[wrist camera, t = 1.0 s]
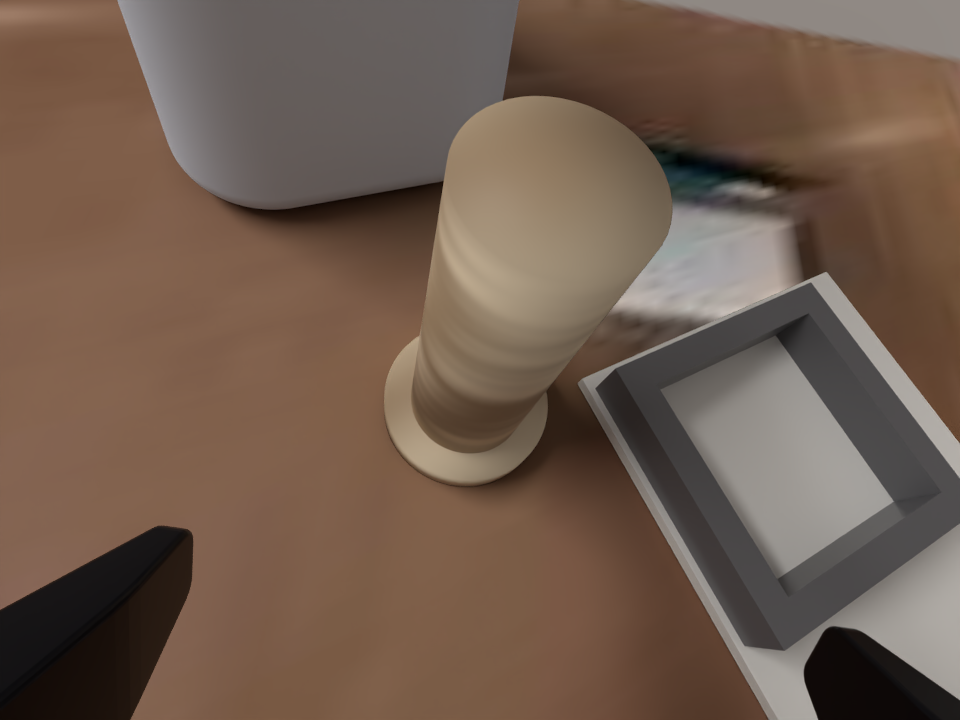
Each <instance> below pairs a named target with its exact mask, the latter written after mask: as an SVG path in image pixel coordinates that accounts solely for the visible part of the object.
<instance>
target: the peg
mask: <svg viewBox="0 0 960 720" xmlns="http://www.w3.org/2000/svg"><path fill="white" fill-rule="evenodd" d="M671 219H672V197H671V192H670V187H669V184H668V181H667V178H666V176H665V174H664V172H663V169H662V167H661V165H660V164H659V162H658V161H657V159H656V157H655V156H654V154H653V153H652V152H651V151H650V149H649V148H648V147H647V146H646V144H645V143H644V142H643V141H642V140H641V139H640V138H639V137H638V136H637V135H636V134H634V133H633V132H632V131H631V130H630V129H628V128H627V127H626V126H624V125H623V124H622V123H620V122H619V121H617V120H616V119H614V118H612V117H611V116H609V115H607V114H605V113H603V112H602V111H599V110H597V109H595V108H592V107H590V106H588V105H585V104H582V103H579V102H576V101H571V100H567V99H563V98H556V97H549V96H525V97H517V98H512V99H507V100H504V101H501V102H497V103H495V104H493V105H490V106H488V107H486V108H484V109H483V110H481V111H479V112H478V113H476V114H475V115H474V116H472V117H471V118H470V119H469V120H468V121H467V122H466V123H465V124H464V125H463V126H462V127H461V129H460V130H459V131H458V133H457V135H456V136H455V138H454V140H453V142H452V144H451V147H450V150H449V153H448V159H447V164H446V170H445V177H444V183H443V190H442V196H441V203H440V209H439V215H438V222H437V228H436V235H435V241H434V248H433V254H432V261H431V267H430V273H429V280H428V286H427V293H426V299H425V306H424V312H423V318H422V325H421V331H420V336H419V337H417V338H415V339H414V340H413V341H412V342H410V343H409V344H408V345H407V346H406V347H405V348H404V349H403V350H402V351H401V352H400V354H399V355H398V357H397V358H396V359H395V361H394V363H393V365H392V367H391V369H390V371H389V374H388V377H387V381H386V385H385V395H384V416H385V423H386V427H387V431H388V433H389V436H390V439H391V441H392V443H393V444H394V446H395V448H396V450H397V451H398V452H399V454H400V455H401V457H402V458H403V459H404V460H405V461H406V462H407V463H408V464H409V465H410V466H411V467H413V468H414V469H415V470H416V471H418V472H419V473H421V474H423V475H424V476H426V477H428V478H430V479H432V480H434V481H437V482H440V483H443V484H447V485H453V486H464V487H470V486H479V485H483V484H487V483H490V482H493V481H495V480H498V479H500V478H502V477H504V476H505V475H507V474H509V473H510V472H511V471H513V470H514V469H515V468H516V467H517V466H518V465H519V464H520V463H522V462H523V461H524V460H525V459H526V457H527V456H528V455H529V454H530V453H531V452H532V451H533V449H534V448H535V447H536V445H537V443H538V442H539V440H540V438H541V436H542V433H543V431H544V428H545V424H546V420H547V412H548V400H547V393H546V391H547V389H548V388H549V387H550V386H551V384H552V383H553V382H554V381H555V379H556V378H557V377H558V376H559V374H560V373H561V372H562V371H563V369H564V368H565V367H566V366H567V364H568V363H569V362H570V361H571V359H572V358H573V357H574V355H575V354H576V353H577V352H578V350H579V349H580V348H581V347H582V345H583V344H584V343H585V342H586V340H587V339H588V338H589V337H590V335H591V334H592V333H593V332H594V330H595V329H596V328H597V327H598V325H599V324H600V323H601V322H602V320H603V319H604V318H605V317H606V315H607V314H608V313H609V312H610V310H611V309H612V308H613V306H614V305H615V304H616V303H617V301H618V300H619V299H620V298H621V296H622V295H623V294H624V293H625V291H626V290H627V289H628V288H629V286H630V285H631V284H632V283H633V281H634V280H635V279H636V278H637V276H638V275H639V274H640V273H641V271H642V270H643V269H644V268H645V266H646V265H647V264H648V263H649V261H650V260H651V259H652V257H653V256H654V255H655V254H656V252H657V251H658V250H659V248H660V247H661V246H662V244H663V242H664V240H665V238H666V236H667V234H668V231H669V228H670V225H671Z"/></svg>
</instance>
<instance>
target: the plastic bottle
mask: <svg viewBox="0 0 960 720" xmlns="http://www.w3.org/2000/svg"><path fill="white" fill-rule="evenodd" d="M118 3H119V6H120V9H121V12H122V15H123V17H124V20H125V23H126V26H127V29H128V31H129V34H130V37H131V40H132V43H133V45H134V48H135V51H136V54H137V57H138V60H139V62H140V65H141V68H142V71H143V74H144V76H145V79H146V82H147V85H148V88H149V91H150V93H151V96H152V99H153V102H154V105H155V107H156V110H157V113H158V116H159V119H160V122H161V124H162V127H163V130H164V133H165V136H166V138H167V141H168V144H169V147H170V149H171V151H172V153H173V155H174V157H175V158H176V160H177V162H178V163H179V165H180V166H181V167H182V168H183V170H184V171H185V172H186V173H187V174H188V175H189V176H190V177H191V178H192V179H193V180H194V181H195V182H196V183H197V184H199V185H200V186H201V187H203V188H204V189H206V190H207V191H209V192H210V193H212V194H214V195H215V196H217V197H219V198H221V199H224V200H226V201H228V202H231V203H234V204H237V205H241V206H245V207H250V208H257V209H268V210H278V209H289V208H296V207H301V206H307V205H313V204H318V203H324V202H329V201H335V200H341V199H346V198H352V197H357V196H363V195H369V194H374V193H380V192H386V191H391V190H397V189H402V188H408V187H414V186H419V185H425V184H431V183H436V182H441V181H444V177H445V170H446V164H447V159H448V153H449V150H450V147H451V144H452V142H453V140H454V138H455V136H456V135H457V133H458V131H459V130H460V129H461V127H462V126H463V125H464V124H465V123H466V122H467V121H468V120H469V119H470V118H471V117H472V116H474V115H475V114H476V113H478V112H479V111H481V110H483V109H484V108H486V107H488V106H490V105H493V104H495V103H497V102H501V101H503V95H504V89H505V83H506V77H507V71H508V64H509V58H510V52H511V46H512V40H513V34H514V28H515V22H516V16H517V10H518V3H519V0H118Z"/></svg>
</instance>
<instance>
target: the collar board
mask: <svg viewBox="0 0 960 720" xmlns="http://www.w3.org/2000/svg"><path fill="white" fill-rule="evenodd" d="M578 386H579V387H580V389H581V391H582V393H583V394H584V396H585V398H586V400H587V401H588V403H589V405H590V407H591V409H592V410H593V412H594V414H595V416H596V417H597V419H598V421H599V423H600V424H601V426H602V428H603V430H604V431H605V433H606V435H607V437H608V438H609V440H610V442H611V444H612V445H613V447H614V449H615V451H616V452H617V454H618V456H619V458H620V459H621V461H622V463H623V465H624V466H625V468H626V470H627V472H628V473H629V475H630V477H631V479H632V480H633V482H634V484H635V486H636V487H637V489H638V491H639V493H640V494H641V496H642V498H643V500H644V501H645V503H646V505H647V507H648V508H649V510H650V512H651V514H652V515H653V517H654V519H655V521H656V522H657V524H658V526H659V528H660V529H661V531H662V533H663V535H664V537H665V538H666V540H667V542H668V544H669V545H670V547H671V549H672V551H673V552H674V554H675V556H676V558H677V559H678V561H679V563H680V565H681V566H682V568H683V570H684V572H685V573H686V575H687V577H688V579H689V580H690V582H691V584H692V586H693V587H694V589H695V591H696V593H697V594H698V596H699V598H700V600H701V601H702V603H703V605H704V607H705V608H706V610H707V612H708V614H709V615H710V617H711V619H712V621H713V622H714V624H715V626H716V628H717V629H718V631H719V633H720V635H721V636H722V638H723V640H724V642H725V643H726V645H727V647H728V649H729V650H730V652H731V654H732V656H733V658H734V659H735V661H736V663H737V665H738V666H739V668H740V670H741V672H742V673H743V675H744V677H745V679H746V680H747V682H748V684H749V686H750V687H751V689H752V691H753V693H754V694H755V696H756V698H757V700H758V701H759V703H760V705H761V707H762V708H763V710H764V712H765V714H766V715H767V717H768V719H769V720H818V718H817V715H816V713H815V710H814V707H813V704H812V702H811V699H810V696H809V694H808V691H807V688H806V685H805V682H804V666H805V663H806V661H807V660H808V658H809V656H810V654H811V653H812V651H813V649H814V647H815V645H816V644H817V642H818V640H819V638H820V637H821V635H822V633H823V632H824V630H825V629H827V628H828V627H830V626H839V627H846V628H853V629H857V630H859V631H862V632H863V633H865V634H867V635H868V636H869V637H871V638H872V639H874V640H875V641H877V642H878V643H879V644H881V645H882V646H884V647H885V648H887V649H888V650H889V651H891V652H892V653H894V654H895V655H896V656H898V657H899V658H901V659H902V660H904V661H905V662H906V663H908V664H909V665H911V666H912V667H914V668H915V669H916V670H918V671H919V672H921V673H922V674H924V675H925V676H926V677H928V678H929V679H931V680H932V681H933V682H935V683H936V684H938V685H939V686H941V687H942V688H943V689H945V690H946V691H948V692H949V693H951V694H952V695H953V696H955V697H956V698H958V699H959V700H960V443H959V442H958V441H957V440H956V438H955V437H954V436H953V434H952V433H951V432H950V431H949V429H948V428H947V427H946V425H945V424H944V423H943V422H942V420H941V419H940V418H939V416H938V415H937V414H936V412H935V411H934V410H933V409H932V407H931V406H930V405H929V403H928V402H927V401H926V400H925V398H924V397H923V396H922V394H921V393H920V392H919V391H918V389H917V388H916V387H915V385H914V384H913V383H912V382H911V380H910V379H909V378H908V376H907V375H906V374H905V372H904V371H903V370H902V369H901V367H900V366H899V365H898V363H897V362H896V361H895V360H894V358H893V357H892V356H891V354H890V353H889V352H888V351H887V349H886V348H885V347H884V345H883V344H882V343H881V341H880V340H879V339H878V338H877V336H876V335H875V334H874V332H873V331H872V330H871V329H870V327H869V326H868V325H867V323H866V322H865V321H864V320H863V318H862V317H861V316H860V314H859V313H858V312H857V310H856V309H855V308H854V307H853V305H852V304H851V303H850V301H849V300H848V299H847V298H846V296H845V295H844V294H843V292H842V291H841V290H840V289H839V287H838V286H837V285H836V283H835V282H834V281H833V280H832V278H831V277H830V276H829V274H828V273H827V272H825V273H822V274H820V275H818V276H816V277H813V278H811V279H809V280H806V281H804V282H802V283H800V284H797V285H795V286H793V287H790V288H788V289H786V290H784V291H781V292H779V293H777V294H774V295H772V296H770V297H768V298H765V299H763V300H761V301H758V302H756V303H754V304H752V305H749V306H747V307H745V308H742V309H740V310H738V311H736V312H733V313H731V314H729V315H726V316H724V317H722V318H720V319H717V320H715V321H713V322H710V323H708V324H706V325H704V326H701V327H699V328H697V329H694V330H692V331H690V332H688V333H685V334H683V335H681V336H678V337H676V338H674V339H672V340H669V341H667V342H665V343H662V344H660V345H658V346H656V347H653V348H651V349H649V350H646V351H644V352H642V353H640V354H637V355H635V356H633V357H630V358H628V359H626V360H624V361H621V362H619V363H617V364H614V365H612V366H610V367H608V368H605V369H603V370H601V371H598V372H596V373H594V374H592V375H589V376H587V377H585V378H582V379H581V380H580V381H579V383H578Z"/></svg>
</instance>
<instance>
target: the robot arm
mask: <svg viewBox="0 0 960 720" xmlns="http://www.w3.org/2000/svg"><path fill="white" fill-rule="evenodd" d="M192 563H193V535H192V533H191V532H190V531H189V530H188V529H183V528H176V527H170V526H157V527H154V528H152V529H150V530H148V531H146V532H144V533H143V534H141V535H139V536H137V537H135V538H133V539H131V540H129V541H128V542H126V543H124V544H122V545H120V546H118V547H116V548H115V549H113V550H111V551H109V552H107V553H105V554H103V555H102V556H100V557H98V558H96V559H94V560H92V561H90V562H89V563H87V564H85V565H83V566H81V567H79V568H77V569H75V570H74V571H72V572H70V573H68V574H66V575H64V576H62V577H61V578H59V579H57V580H55V581H53V582H51V583H49V584H48V585H46V586H44V587H42V588H40V589H38V590H36V591H35V592H33V593H31V594H29V595H27V596H25V597H23V598H22V599H20V600H18V601H16V602H14V603H12V604H10V605H8V606H7V607H5V608H3V609H1V610H0V720H130V719H131V717H132V715H133V713H134V711H135V709H136V707H137V705H138V703H139V701H140V699H141V696H142V694H143V692H144V690H145V688H146V686H147V683H148V681H149V679H150V677H151V675H152V673H153V670H154V668H155V666H156V664H157V662H158V659H159V657H160V655H161V653H162V651H163V649H164V646H165V644H166V642H167V640H168V638H169V636H170V633H171V631H172V629H173V627H174V625H175V623H176V620H177V618H178V616H179V614H180V612H181V610H182V607H183V605H184V603H185V601H186V599H187V596H188V593H189V590H190V587H191V582H192ZM804 682H805V685H806V688H807V691H808V694H809V696H810V699H811V702H812V704H813V707H814V710H815V713H816V715H817V718H818V720H960V700H959V699H958V698H956V697H955V696H953V695H952V694H951V693H949V692H948V691H946V690H945V689H943V688H942V687H941V686H939V685H938V684H936V683H935V682H933V681H932V680H931V679H929V678H928V677H926V676H925V675H924V674H922V673H921V672H919V671H918V670H916V669H915V668H914V667H912V666H911V665H909V664H908V663H906V662H905V661H904V660H902V659H901V658H899V657H898V656H896V655H895V654H894V653H892V652H891V651H889V650H888V649H887V648H885V647H884V646H882V645H881V644H879V643H878V642H877V641H875V640H874V639H872V638H871V637H869V636H868V635H867V634H865V633H863V632H862V631H859V630H857V629H853V628H846V627H839V626H830V627H828V628H827V629H825V630H824V632H823V633H822V635H821V637H820V638H819V640H818V642H817V644H816V645H815V647H814V649H813V651H812V653H811V654H810V656H809V658H808V660H807V661H806V663H805V666H804Z"/></svg>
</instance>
